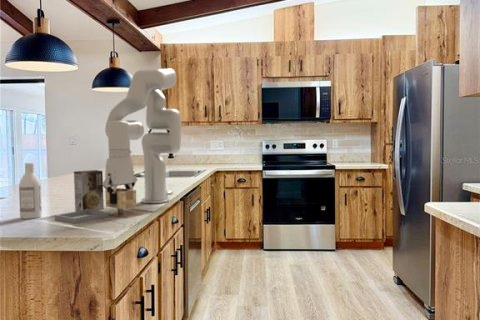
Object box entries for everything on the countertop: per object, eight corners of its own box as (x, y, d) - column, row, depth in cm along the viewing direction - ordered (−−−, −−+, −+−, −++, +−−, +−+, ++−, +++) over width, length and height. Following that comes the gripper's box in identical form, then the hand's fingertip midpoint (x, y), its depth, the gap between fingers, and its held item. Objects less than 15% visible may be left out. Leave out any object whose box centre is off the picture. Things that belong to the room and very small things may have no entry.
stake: (120, 215, 143) (120, 199, 143) (124, 216, 142) (124, 199, 142) (116, 216, 142) (116, 199, 141) (120, 216, 141) (119, 200, 140)
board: (134, 210, 154) (134, 208, 154) (156, 212, 148) (156, 211, 148) (103, 216, 141) (103, 214, 141) (126, 219, 135) (126, 218, 135)
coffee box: (95, 208, 158) (94, 169, 157) (104, 210, 154) (103, 170, 153) (74, 211, 151) (73, 171, 150) (82, 213, 147) (81, 171, 146)
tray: (88, 214, 145) (88, 209, 145) (109, 217, 139) (108, 212, 139) (54, 221, 133) (54, 215, 133) (75, 225, 127) (75, 218, 127)
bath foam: (33, 214, 145) (31, 162, 144) (45, 216, 142) (44, 162, 141) (15, 218, 139) (13, 163, 138) (28, 219, 136) (27, 163, 135)
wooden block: (105, 206, 142) (105, 190, 142) (119, 203, 148) (118, 188, 147) (123, 208, 137) (122, 192, 137) (136, 205, 143) (135, 189, 142)
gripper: (130, 152, 150) (131, 197, 152) (92, 155, 136) (94, 205, 137) (144, 153, 146) (145, 199, 148) (107, 156, 132) (109, 207, 133)
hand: (121, 201), depth 142 cm, fingers closed on wooden block, 6 cm apart
